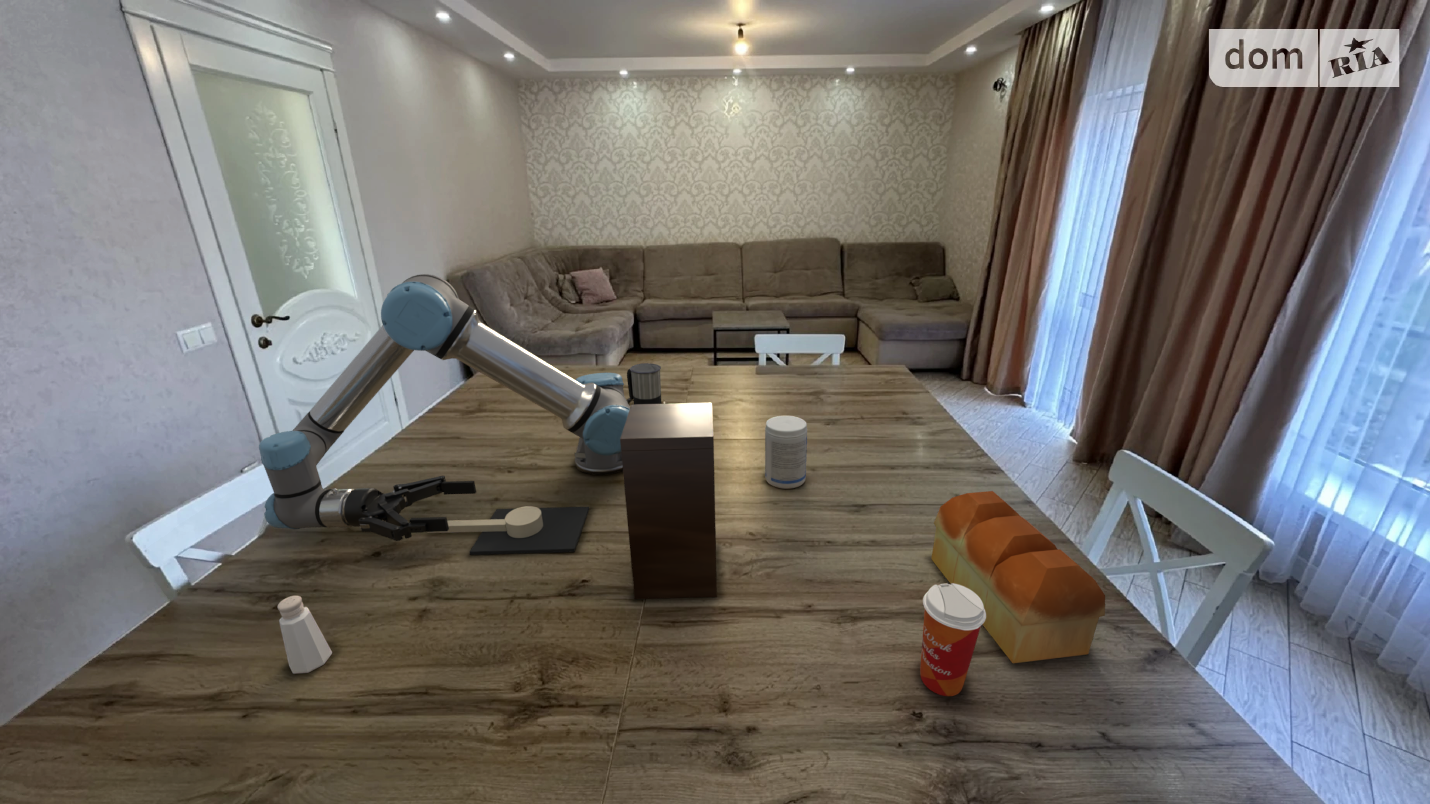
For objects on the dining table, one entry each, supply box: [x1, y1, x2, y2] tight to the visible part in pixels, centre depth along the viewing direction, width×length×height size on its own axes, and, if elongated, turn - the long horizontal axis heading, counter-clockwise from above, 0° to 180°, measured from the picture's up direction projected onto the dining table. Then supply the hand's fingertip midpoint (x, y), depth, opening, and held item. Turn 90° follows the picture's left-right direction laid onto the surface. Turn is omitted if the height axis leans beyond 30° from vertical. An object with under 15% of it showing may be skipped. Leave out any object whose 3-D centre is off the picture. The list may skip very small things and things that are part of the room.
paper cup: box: [919, 583, 986, 697], centre depth 74 cm, size 8×8×14 cm
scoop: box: [426, 505, 543, 538], centre depth 111 cm, size 7×23×3 cm, turn 91°
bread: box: [930, 490, 1106, 664], centre depth 88 cm, size 25×12×15 cm, turn 7°
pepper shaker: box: [277, 595, 333, 675], centre depth 80 cm, size 5×5×11 cm
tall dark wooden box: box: [620, 402, 718, 600], centre depth 94 cm, size 14×14×30 cm
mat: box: [469, 506, 590, 556], centre depth 112 cm, size 15×20×1 cm
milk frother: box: [626, 362, 663, 404], centre depth 166 cm, size 14×16×15 cm
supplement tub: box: [764, 415, 808, 490], centre depth 127 cm, size 10×10×15 cm
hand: (461, 504), depth 110 cm, fingers open, 13 cm apart
